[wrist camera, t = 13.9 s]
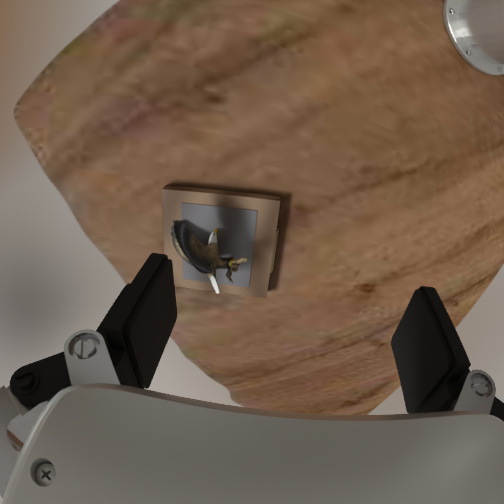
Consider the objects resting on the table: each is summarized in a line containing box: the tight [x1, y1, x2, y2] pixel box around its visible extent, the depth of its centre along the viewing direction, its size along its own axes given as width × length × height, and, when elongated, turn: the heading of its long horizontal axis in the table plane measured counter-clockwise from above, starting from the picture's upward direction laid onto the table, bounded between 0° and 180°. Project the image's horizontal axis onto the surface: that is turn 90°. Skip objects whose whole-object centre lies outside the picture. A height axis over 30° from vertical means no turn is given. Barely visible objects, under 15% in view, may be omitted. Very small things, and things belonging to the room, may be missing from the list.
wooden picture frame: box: [162, 185, 280, 298], centre depth 39 cm, size 14×14×2 cm
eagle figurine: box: [170, 220, 248, 294], centre depth 36 cm, size 8×7×9 cm
